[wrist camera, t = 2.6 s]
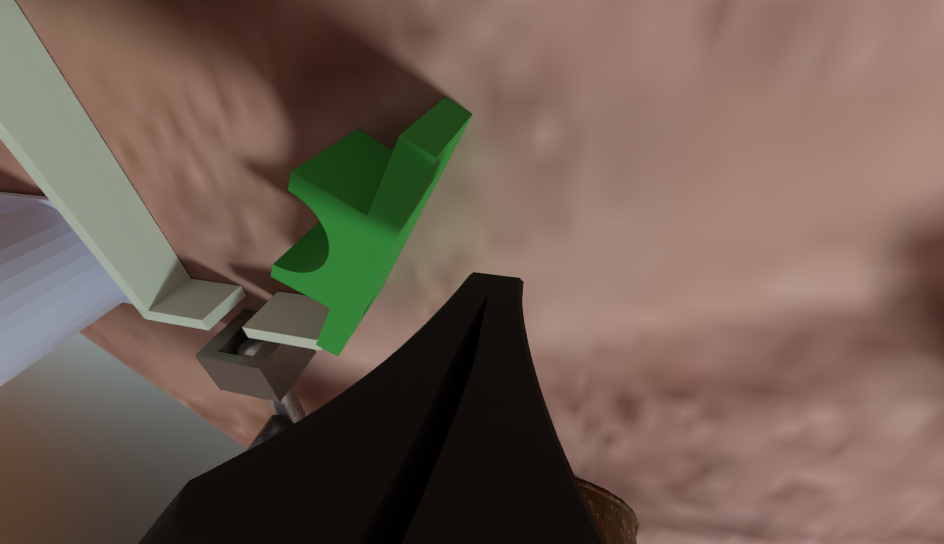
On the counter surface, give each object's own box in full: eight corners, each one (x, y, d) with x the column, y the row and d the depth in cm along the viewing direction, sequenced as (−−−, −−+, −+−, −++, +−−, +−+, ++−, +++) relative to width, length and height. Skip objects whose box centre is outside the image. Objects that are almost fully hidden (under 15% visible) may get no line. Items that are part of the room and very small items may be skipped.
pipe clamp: (383, 52, 13) (309, 76, 9) (474, 112, 13) (437, 157, 10) (316, 260, 20) (260, 319, 16) (378, 294, 20) (336, 359, 17)
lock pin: (247, 334, 23) (179, 406, 19) (275, 339, 23) (210, 413, 19) (290, 408, 28) (243, 476, 24) (313, 413, 28) (269, 484, 24)
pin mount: (243, 309, 24) (194, 355, 21) (301, 319, 23) (259, 368, 20) (261, 342, 26) (220, 389, 23) (316, 352, 25) (280, 402, 22)
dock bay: (187, 286, 24) (144, 318, 21) (-23, -34, 14) (-142, -38, 12) (349, 311, 22) (321, 350, 19) (233, -51, 12) (148, -60, 9)
